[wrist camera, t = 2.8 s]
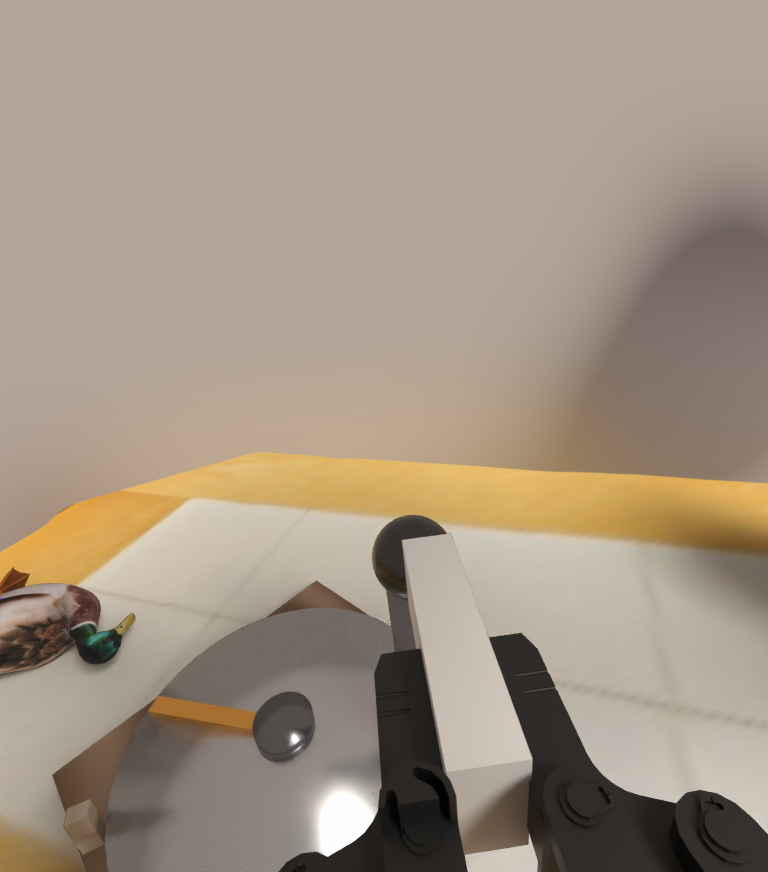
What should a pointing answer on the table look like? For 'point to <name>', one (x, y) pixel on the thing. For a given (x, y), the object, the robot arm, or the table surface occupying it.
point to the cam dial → (264, 739)
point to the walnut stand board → (96, 767)
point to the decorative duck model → (51, 624)
